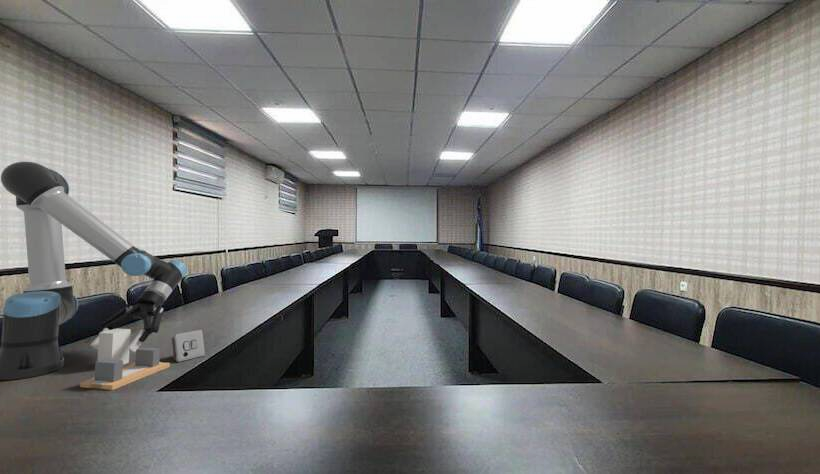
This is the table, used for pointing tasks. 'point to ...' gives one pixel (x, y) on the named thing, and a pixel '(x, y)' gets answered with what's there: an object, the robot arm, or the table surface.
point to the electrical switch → (188, 345)
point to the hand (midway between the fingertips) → (112, 349)
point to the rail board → (125, 370)
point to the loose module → (114, 345)
